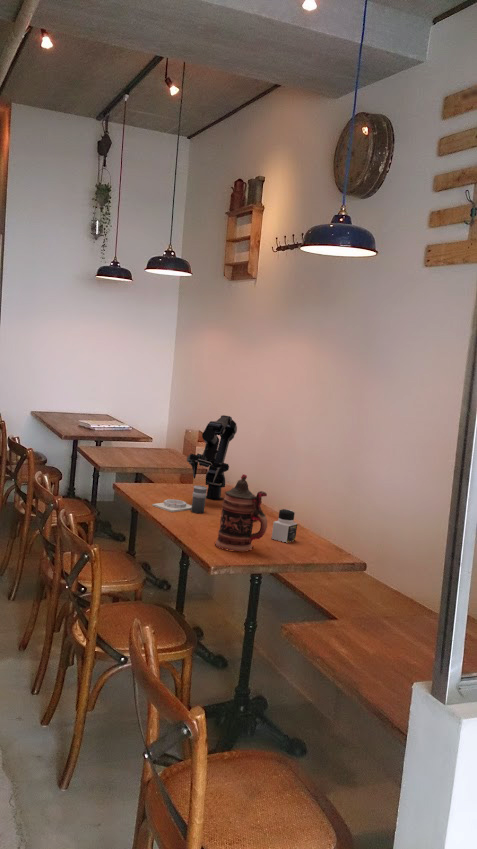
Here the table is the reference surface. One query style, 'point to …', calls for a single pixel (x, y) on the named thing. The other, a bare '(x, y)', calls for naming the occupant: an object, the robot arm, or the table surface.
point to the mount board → (160, 505)
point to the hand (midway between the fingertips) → (203, 481)
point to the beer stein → (240, 518)
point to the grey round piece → (198, 499)
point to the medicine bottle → (284, 526)
